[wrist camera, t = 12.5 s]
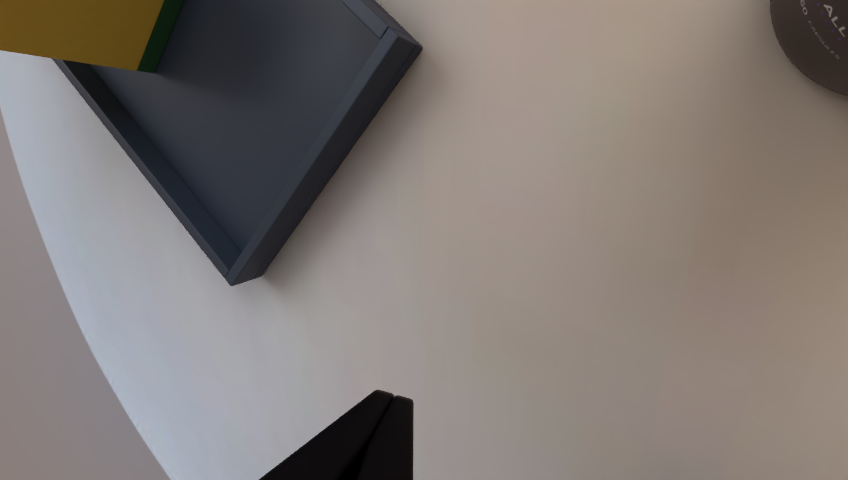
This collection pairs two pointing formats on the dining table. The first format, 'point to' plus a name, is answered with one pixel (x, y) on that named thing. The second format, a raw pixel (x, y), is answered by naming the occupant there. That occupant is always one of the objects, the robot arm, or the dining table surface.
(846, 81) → the supplement bottle
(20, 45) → the sponge
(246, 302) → the dining table surface
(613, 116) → the dining table surface
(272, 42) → the tray
